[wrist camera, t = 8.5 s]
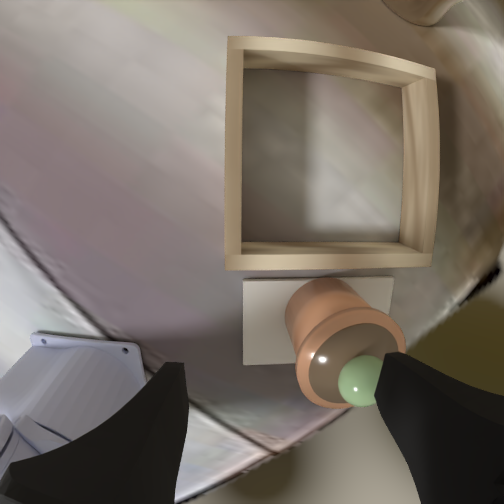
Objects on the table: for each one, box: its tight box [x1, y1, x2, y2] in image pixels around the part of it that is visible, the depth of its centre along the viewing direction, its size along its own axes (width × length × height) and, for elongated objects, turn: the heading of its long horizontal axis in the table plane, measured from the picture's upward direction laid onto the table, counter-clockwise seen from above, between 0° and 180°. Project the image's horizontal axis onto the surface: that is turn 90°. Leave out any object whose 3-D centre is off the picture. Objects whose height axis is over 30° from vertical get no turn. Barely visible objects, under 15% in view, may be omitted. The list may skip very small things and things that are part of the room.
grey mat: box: [243, 276, 395, 365], centre depth 20 cm, size 10×6×1 cm, turn 89°
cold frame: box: [225, 36, 440, 270], centre depth 16 cm, size 12×12×3 cm
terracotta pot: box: [285, 277, 406, 409], centre depth 15 cm, size 6×6×8 cm
